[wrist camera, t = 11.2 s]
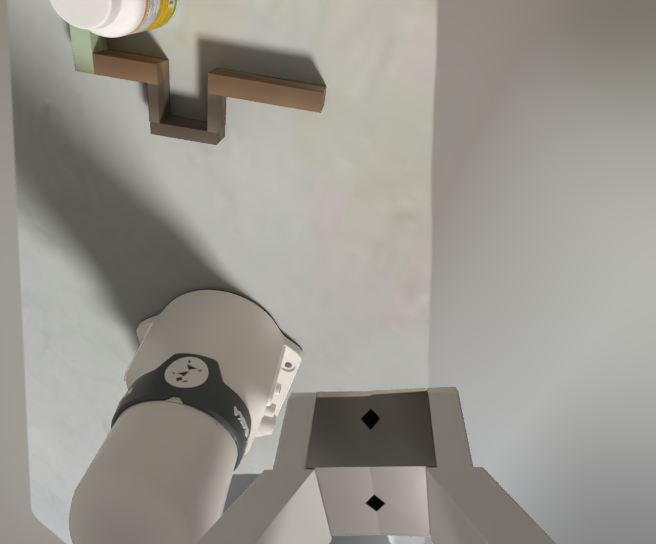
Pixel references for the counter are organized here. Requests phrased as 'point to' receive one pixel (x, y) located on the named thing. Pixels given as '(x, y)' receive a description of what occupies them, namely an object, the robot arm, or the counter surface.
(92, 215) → the counter surface
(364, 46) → the counter surface
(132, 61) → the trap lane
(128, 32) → the supplement bottle
